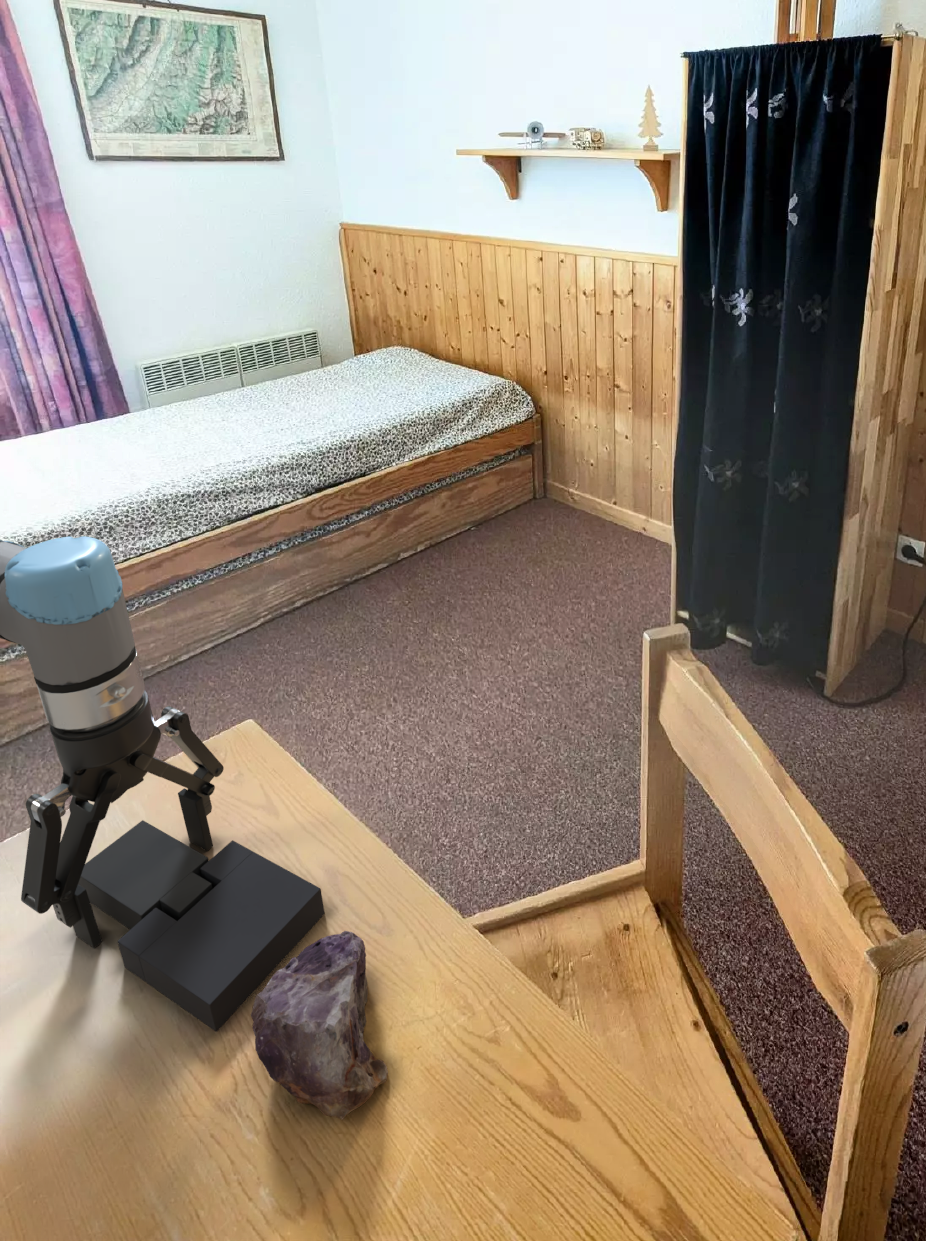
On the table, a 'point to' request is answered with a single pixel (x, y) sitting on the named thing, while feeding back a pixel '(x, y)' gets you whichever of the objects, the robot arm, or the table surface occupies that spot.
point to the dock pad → (224, 935)
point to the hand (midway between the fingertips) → (148, 888)
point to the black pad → (145, 876)
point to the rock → (319, 1027)
